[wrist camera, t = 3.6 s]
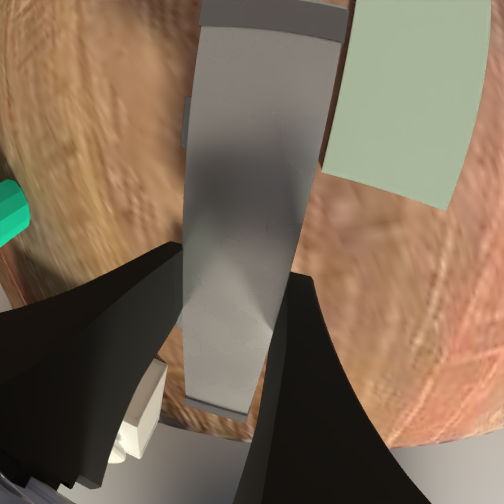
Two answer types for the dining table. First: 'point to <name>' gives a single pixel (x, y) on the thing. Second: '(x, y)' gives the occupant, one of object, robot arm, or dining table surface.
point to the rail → (249, 182)
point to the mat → (410, 95)
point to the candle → (12, 210)
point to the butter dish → (141, 414)
